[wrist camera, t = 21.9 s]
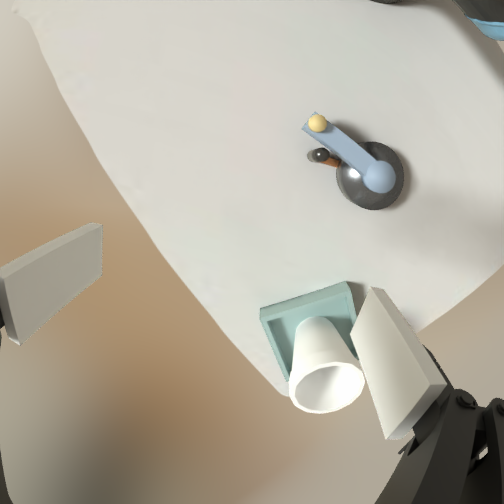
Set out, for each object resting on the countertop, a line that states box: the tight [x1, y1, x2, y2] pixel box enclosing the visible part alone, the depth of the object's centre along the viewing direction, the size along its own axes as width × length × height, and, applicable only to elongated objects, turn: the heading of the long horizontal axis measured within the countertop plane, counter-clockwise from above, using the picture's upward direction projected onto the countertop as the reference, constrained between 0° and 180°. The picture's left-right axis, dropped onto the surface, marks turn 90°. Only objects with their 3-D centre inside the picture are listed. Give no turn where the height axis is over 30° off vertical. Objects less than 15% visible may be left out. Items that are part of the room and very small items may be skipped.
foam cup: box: [289, 316, 365, 414], centre depth 36 cm, size 10×9×13 cm
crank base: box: [307, 142, 404, 210], centre depth 33 cm, size 12×10×6 cm
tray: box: [260, 281, 359, 382], centre depth 42 cm, size 14×14×3 cm
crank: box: [302, 112, 396, 193], centre depth 30 cm, size 13×4×3 cm, turn 55°
